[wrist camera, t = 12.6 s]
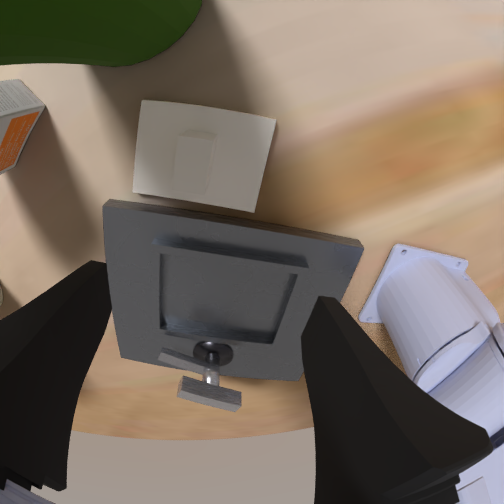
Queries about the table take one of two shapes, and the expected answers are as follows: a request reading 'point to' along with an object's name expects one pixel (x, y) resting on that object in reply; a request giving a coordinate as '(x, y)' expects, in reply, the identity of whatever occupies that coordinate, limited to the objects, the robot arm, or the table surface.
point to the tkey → (209, 386)
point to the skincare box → (16, 120)
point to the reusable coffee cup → (1, 295)
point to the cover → (201, 153)
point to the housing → (218, 286)
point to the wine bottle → (91, 30)
